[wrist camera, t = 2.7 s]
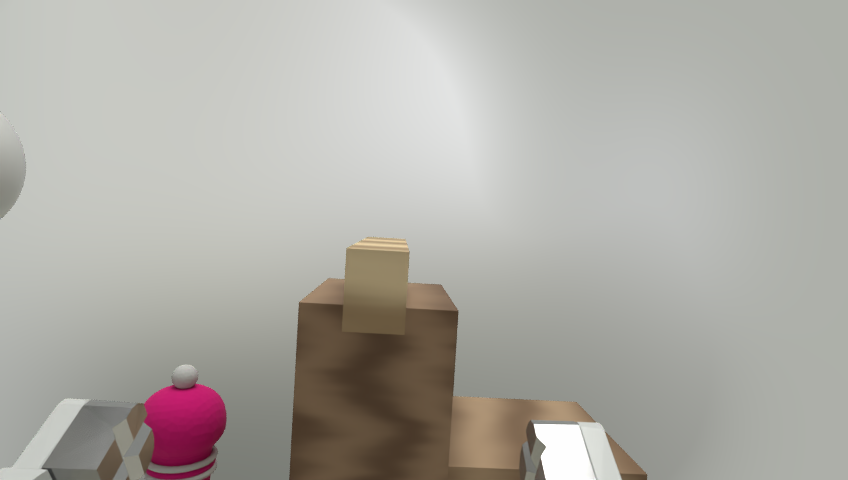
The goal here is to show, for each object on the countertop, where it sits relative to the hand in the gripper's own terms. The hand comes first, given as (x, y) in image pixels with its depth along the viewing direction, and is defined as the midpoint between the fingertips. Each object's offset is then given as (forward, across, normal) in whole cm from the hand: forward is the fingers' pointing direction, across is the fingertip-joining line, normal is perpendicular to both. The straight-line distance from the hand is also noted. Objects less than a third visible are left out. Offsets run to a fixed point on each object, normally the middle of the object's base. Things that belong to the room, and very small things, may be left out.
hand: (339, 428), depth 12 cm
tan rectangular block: (+20, 0, +12) cm, 23 cm away
